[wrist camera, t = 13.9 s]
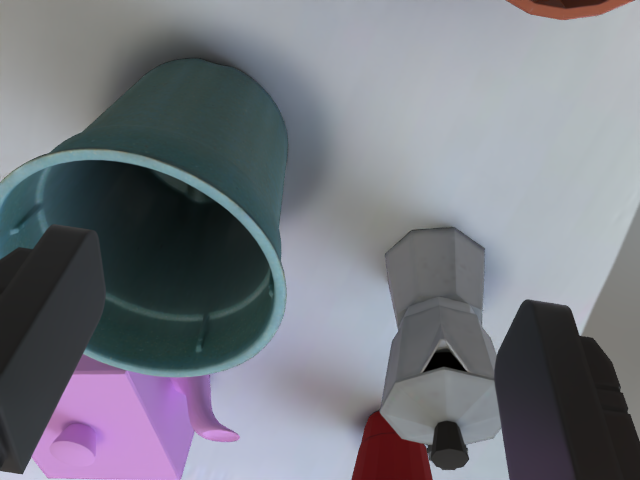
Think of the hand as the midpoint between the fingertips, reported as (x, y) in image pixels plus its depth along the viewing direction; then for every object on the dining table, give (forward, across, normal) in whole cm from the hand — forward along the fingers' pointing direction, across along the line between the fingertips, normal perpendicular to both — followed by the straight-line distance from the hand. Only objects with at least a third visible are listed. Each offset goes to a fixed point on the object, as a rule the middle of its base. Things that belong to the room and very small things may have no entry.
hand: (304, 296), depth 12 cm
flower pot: (+31, +9, +16) cm, 36 cm away
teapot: (+31, +16, +39) cm, 52 cm away
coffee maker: (+31, -11, +26) cm, 42 cm away
